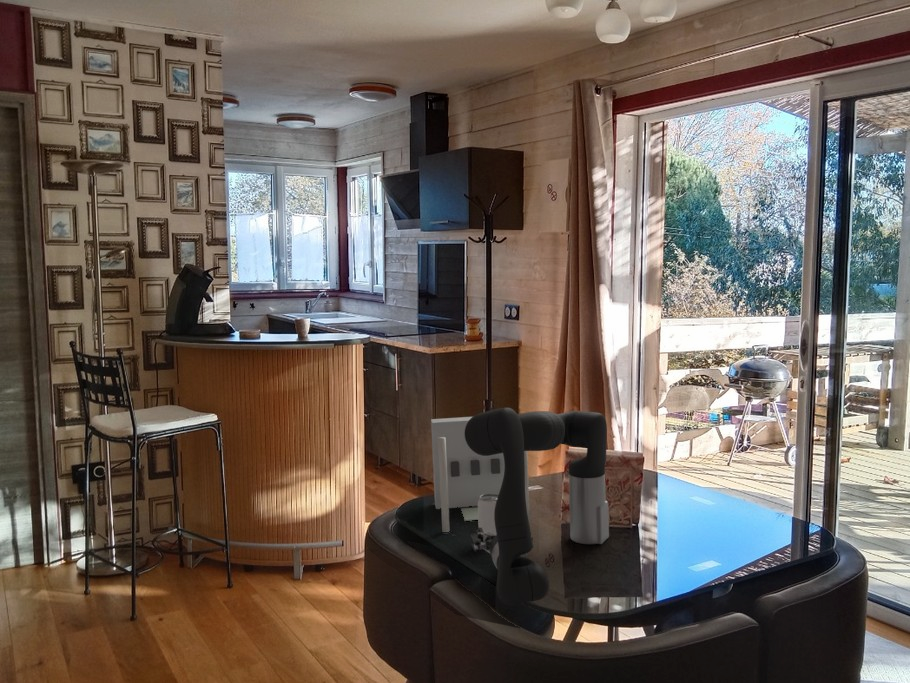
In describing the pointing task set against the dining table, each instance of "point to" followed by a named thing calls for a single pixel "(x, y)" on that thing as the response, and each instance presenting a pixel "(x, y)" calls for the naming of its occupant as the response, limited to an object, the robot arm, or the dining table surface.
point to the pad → (470, 513)
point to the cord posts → (445, 484)
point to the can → (487, 512)
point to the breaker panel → (463, 466)
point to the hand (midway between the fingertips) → (497, 530)
